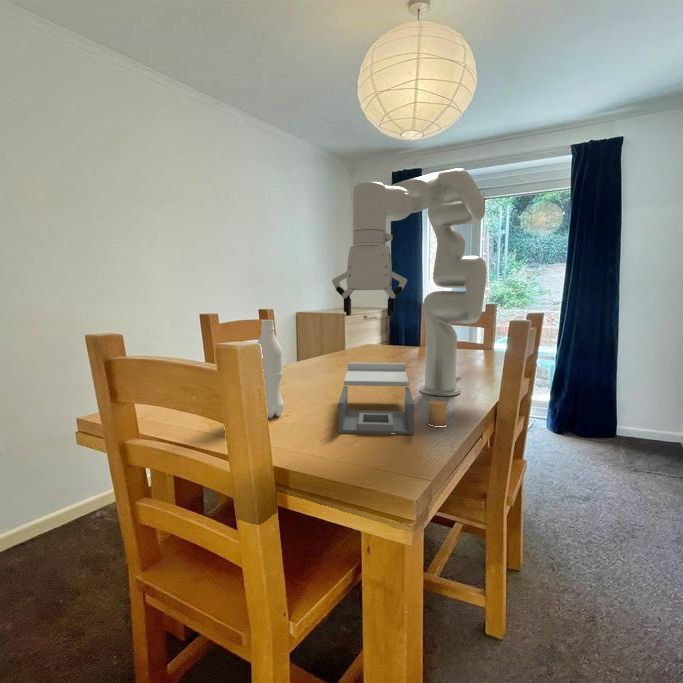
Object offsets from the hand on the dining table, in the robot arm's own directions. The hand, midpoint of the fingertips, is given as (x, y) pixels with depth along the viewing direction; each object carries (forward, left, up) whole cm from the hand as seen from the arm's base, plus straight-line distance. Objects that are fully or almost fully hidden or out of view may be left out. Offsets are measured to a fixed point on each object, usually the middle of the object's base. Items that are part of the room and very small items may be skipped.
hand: (368, 315), depth 95 cm
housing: (-3, 0, -27) cm, 27 cm away
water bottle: (+12, -23, -27) cm, 38 cm away
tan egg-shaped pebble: (-12, +11, -27) cm, 32 cm away
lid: (-14, -10, -19) cm, 26 cm away
